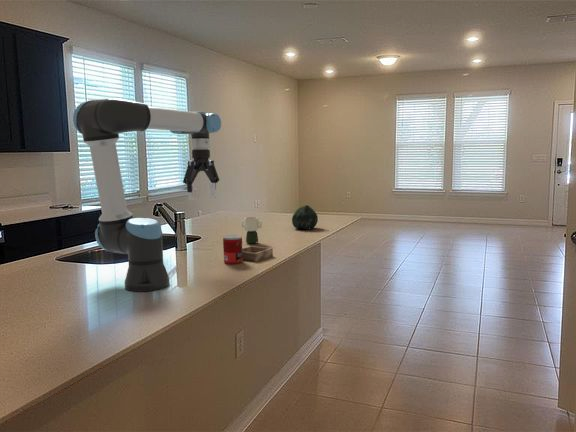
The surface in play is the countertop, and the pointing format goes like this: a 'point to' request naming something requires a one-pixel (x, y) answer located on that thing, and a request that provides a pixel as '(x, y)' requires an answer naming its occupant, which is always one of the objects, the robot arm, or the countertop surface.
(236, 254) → the canned food
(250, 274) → the countertop surface
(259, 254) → the crate
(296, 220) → the squash
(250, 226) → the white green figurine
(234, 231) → the countertop surface
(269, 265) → the countertop surface
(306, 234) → the countertop surface
